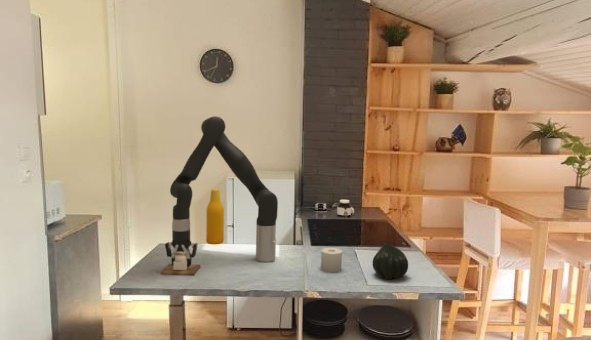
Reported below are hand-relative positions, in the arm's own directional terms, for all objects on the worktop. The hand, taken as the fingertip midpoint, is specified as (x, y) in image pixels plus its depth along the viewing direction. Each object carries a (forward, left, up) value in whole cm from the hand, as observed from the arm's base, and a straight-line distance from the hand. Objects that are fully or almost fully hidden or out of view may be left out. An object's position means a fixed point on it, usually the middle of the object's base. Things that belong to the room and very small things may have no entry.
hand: (181, 266), depth 180 cm
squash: (-91, -2, -2) cm, 91 cm away
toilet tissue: (-66, -10, -2) cm, 66 cm away
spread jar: (-83, -120, -2) cm, 146 cm away
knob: (0, 0, -1) cm, 1 cm away
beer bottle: (-5, -44, -2) cm, 44 cm away
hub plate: (0, 0, -2) cm, 2 cm away
